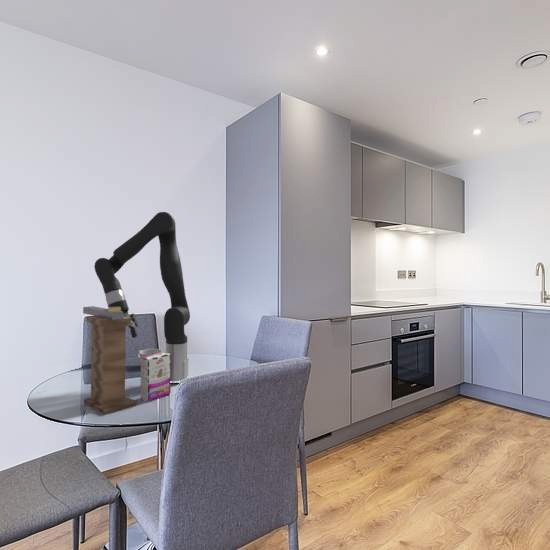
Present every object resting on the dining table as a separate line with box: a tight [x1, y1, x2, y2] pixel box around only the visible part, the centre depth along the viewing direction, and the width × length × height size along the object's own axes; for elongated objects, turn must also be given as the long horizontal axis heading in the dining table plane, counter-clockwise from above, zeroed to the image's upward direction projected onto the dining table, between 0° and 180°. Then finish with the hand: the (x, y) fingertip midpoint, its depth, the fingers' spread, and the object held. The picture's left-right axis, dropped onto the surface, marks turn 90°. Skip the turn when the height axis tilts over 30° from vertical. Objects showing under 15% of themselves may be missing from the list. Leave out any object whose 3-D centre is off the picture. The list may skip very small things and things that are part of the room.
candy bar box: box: [140, 351, 172, 402], centre depth 150 cm, size 11×5×16 cm, turn 148°
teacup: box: [136, 348, 162, 365], centre depth 194 cm, size 14×11×8 cm
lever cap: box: [82, 305, 123, 320], centre depth 145 cm, size 24×4×4 cm, turn 49°
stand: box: [83, 315, 138, 416], centre depth 141 cm, size 17×12×32 cm
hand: (128, 338), depth 161 cm, fingers open, 8 cm apart
